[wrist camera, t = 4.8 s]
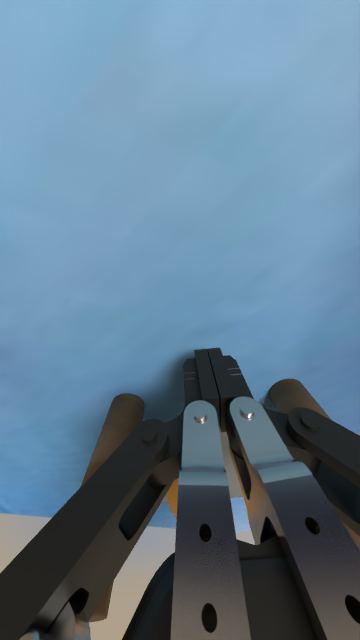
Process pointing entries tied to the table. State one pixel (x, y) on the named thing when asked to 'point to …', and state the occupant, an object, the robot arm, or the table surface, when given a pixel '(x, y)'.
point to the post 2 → (296, 395)
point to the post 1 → (115, 430)
